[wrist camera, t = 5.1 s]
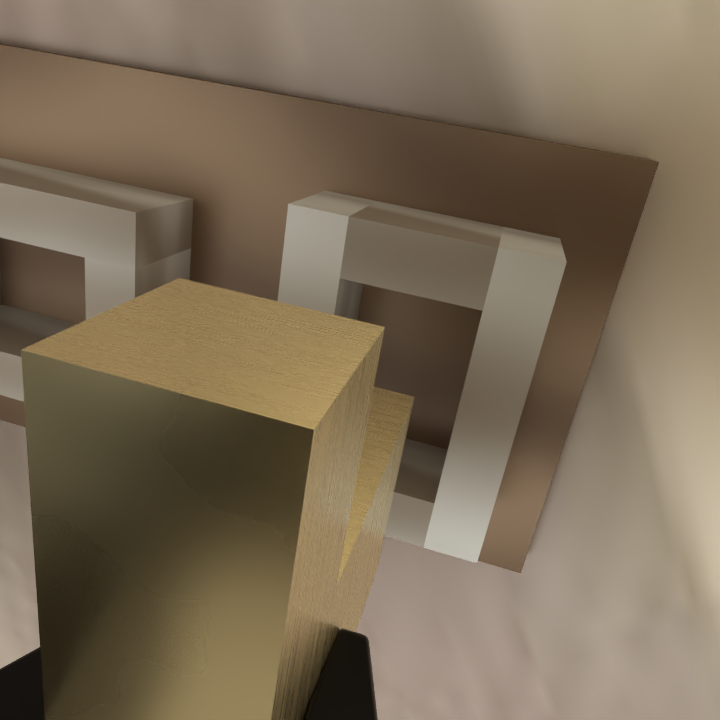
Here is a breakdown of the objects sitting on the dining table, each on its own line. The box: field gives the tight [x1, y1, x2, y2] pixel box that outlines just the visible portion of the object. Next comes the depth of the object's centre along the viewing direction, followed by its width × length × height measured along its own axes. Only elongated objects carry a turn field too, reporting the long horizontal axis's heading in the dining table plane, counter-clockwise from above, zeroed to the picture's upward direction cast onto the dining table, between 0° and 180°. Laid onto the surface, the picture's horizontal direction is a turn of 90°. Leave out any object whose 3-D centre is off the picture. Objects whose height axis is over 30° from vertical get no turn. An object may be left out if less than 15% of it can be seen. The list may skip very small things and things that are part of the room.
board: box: [0, 44, 659, 573], centre depth 19 cm, size 13×22×4 cm, turn 81°
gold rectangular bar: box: [21, 278, 414, 720], centre depth 9 cm, size 2×10×7 cm, turn 171°
